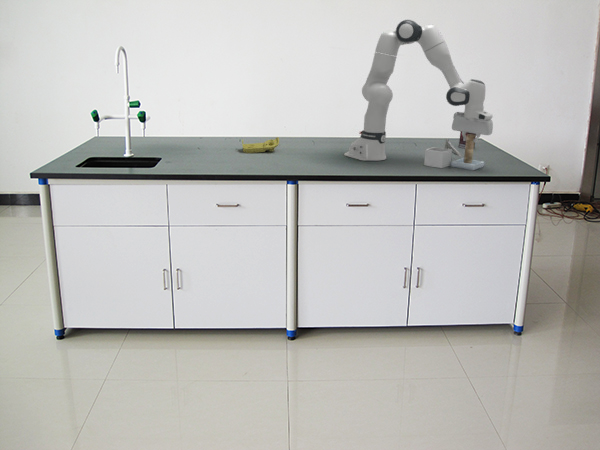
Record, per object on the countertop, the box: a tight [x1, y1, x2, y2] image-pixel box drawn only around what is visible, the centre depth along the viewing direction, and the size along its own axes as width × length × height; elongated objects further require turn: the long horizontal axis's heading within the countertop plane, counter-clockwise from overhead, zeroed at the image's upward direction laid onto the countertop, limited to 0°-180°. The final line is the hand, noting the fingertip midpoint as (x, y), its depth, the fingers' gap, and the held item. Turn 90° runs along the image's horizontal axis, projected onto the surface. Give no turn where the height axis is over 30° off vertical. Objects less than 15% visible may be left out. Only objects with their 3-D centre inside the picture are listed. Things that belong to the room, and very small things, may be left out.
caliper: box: [444, 138, 462, 157], centre depth 335 cm, size 20×1×6 cm, turn 10°
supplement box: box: [458, 131, 477, 149], centre depth 346 cm, size 9×5×16 cm, turn 25°
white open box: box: [423, 146, 453, 169], centre depth 304 cm, size 10×10×8 cm
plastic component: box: [241, 136, 280, 154], centre depth 326 cm, size 20×7×10 cm
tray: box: [450, 157, 485, 171], centre depth 304 cm, size 12×12×2 cm
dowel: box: [463, 134, 475, 164], centre depth 302 cm, size 4×4×14 cm
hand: (470, 141), depth 300 cm, fingers closed on dowel, 4 cm apart
